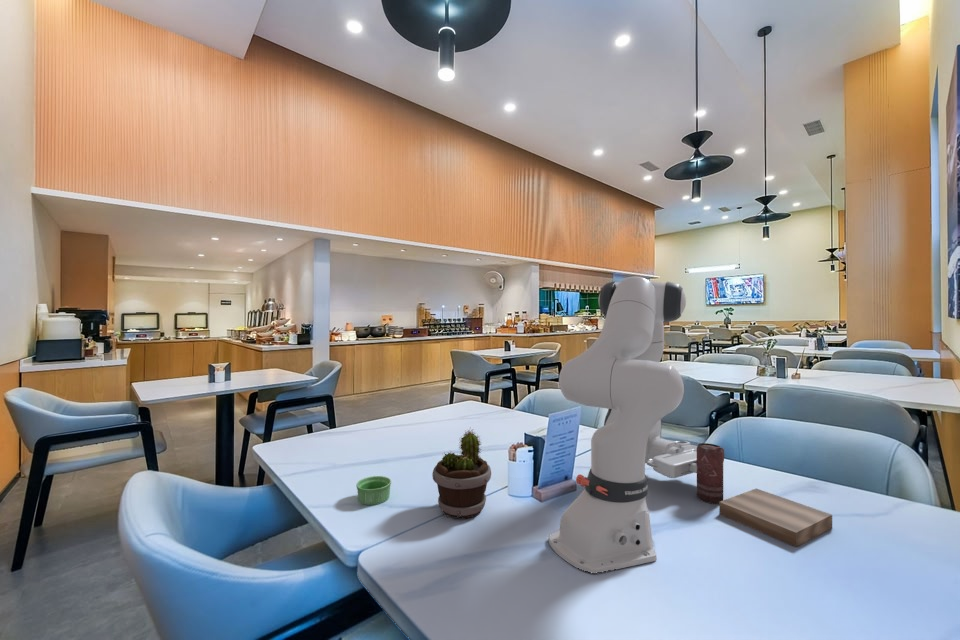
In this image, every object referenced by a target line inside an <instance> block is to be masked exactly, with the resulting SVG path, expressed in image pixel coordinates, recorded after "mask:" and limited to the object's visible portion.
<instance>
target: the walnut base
mask: <svg viewBox="0 0 960 640" xmlns="http://www.w3.org/2000/svg"><path fill="white" fill-rule="evenodd" d="M718 510H719V515H720V516H723V517H725V518H727V519H730V520H732V521H735V522H736V523H739V524H742V525H744V526H747V527H748V528H751V529H753V530H755V531H758V532H760V533H763V534H765V535H767V536H769V537H771V538H774V539H777V540H779V541H781V542H784V543H785V544H788V545H791V546H793V547H795V548H798V547H799V546H801V545H803V544H805V543H807V542H809V541H810V540H812V539H815V538H816V537H818V536H820V535H822V534H824V533H825V532H828V531H830V530H831V529H833V514H831V513H829V512H826V511H822V510H820V509H816V508H814V507H811V506H808V505H805V504H802V503H800V502H797V501H794V500H791V499H787V498H785V497H783V496H779V495H776V494H774V493H770V492H768V491H765V490H761V489H760V488H754V489H751V490H748V491H745V492H743V493H741V494H737V495H734V496H731V497H729V498H726V499H723V501H720V502H719V509H718Z"/></svg>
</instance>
